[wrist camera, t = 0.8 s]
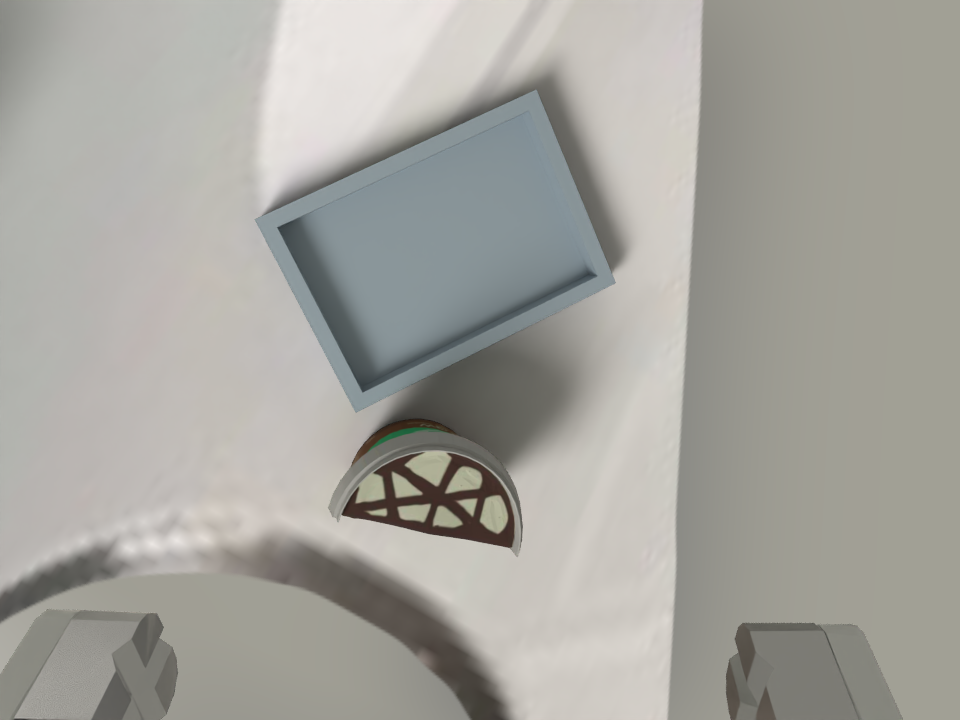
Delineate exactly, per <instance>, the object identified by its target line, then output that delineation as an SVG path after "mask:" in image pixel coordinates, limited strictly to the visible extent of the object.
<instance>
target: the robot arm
mask: <svg viewBox="0 0 960 720" xmlns="http://www.w3.org/2000/svg"><path fill="white" fill-rule="evenodd" d="M163 628H164V627H163V625H162V623H161V621H160V618H159V617H158V614H157V613H144V612H116V611H88V610H59V609H56V610H55V609H47V610H46V611H45V612H44V613H42V614H41V615H40V616H39V617H38V618H36V619H35V621H34V622H33V624H32V625H31V627H30V629H29V630H28V632H27V633H26V635H25V636H24V638H23V639H22V641H21V643H20V644H19V646H18V647H17V649H16V650H15V652H14V654H13V655H12V657H11V658H10V660H9V662H8V663H7V665H6V666H5V668H4V669H3V671H2V673H1V674H0V720H160V719H162V718H163V717H164V716H165V715H166V714H167V712H168V709H169V707H170V704H171V701H172V698H173V696H174V692H175V686H176V680H177V675H178V669H177V659H176V656H175V653H174V650H173V648H172V647H171V646H170V645H169V644H167V643H166V642H164V641H163V640H161V639H160V638H159V637H160V635H161V633H162V631H163ZM735 641H736V645H737V649H738V653H737V654H736V655H734V656H733V657H732V658H730V659H729V663H728V668H727V673H726V696H727V703H728V710H729V714H730V719H731V720H903V718H902V716H901V714H900V712H899V709H898V707H897V705H896V703H895V701H894V699H893V696H892V694H891V692H890V690H889V687H888V685H887V683H886V681H885V679H884V677H883V674H882V672H881V670H880V668H879V665H878V663H877V661H876V659H875V656H874V654H873V652H872V650H871V648H870V645H869V643H868V641H867V639H866V636H865V634H864V633H863V631H862V630H860V628H859V627H858V626H856V625H851V624H847V625H846V624H845V625H844V624H843V625H841V624H840V625H839V624H838V625H836V624H835V625H816V624H814V623H742V624H741V625H740V626H739V627H738V630H737V633H736V637H735Z"/></svg>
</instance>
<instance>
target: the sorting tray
mask: <svg viewBox="0 0 960 720" xmlns="http://www.w3.org/2000/svg"><path fill="white" fill-rule="evenodd" d="M255 221H256V223H257V225H258V227H259V229H260V230H261V232H262V234H263V236H264V238H265V240H266V242H267V244H268V246H269V248H270V250H271V251H272V253H273V255H274V257H275V259H276V261H277V263H278V265H279V267H280V269H281V271H282V272H283V274H284V276H285V278H286V280H287V282H288V284H289V286H290V288H291V290H292V292H293V294H294V295H295V297H296V299H297V301H298V303H299V305H300V307H301V309H302V311H303V313H304V315H305V316H306V318H307V320H308V322H309V324H310V326H311V328H312V330H313V332H314V334H315V336H316V338H317V339H318V341H319V343H320V345H321V347H322V349H323V351H324V353H325V355H326V357H327V359H328V360H329V362H330V364H331V366H332V368H333V370H334V372H335V374H336V376H337V378H338V380H339V381H340V383H341V385H342V387H343V389H344V391H345V393H346V395H347V397H348V399H349V401H350V403H351V404H352V406H353V408H354V410H355V412H358V411H360V410H362V409H364V408H366V407H368V406H370V405H372V404H374V403H376V402H378V401H380V400H382V399H384V398H386V397H388V396H390V395H392V394H394V393H396V392H398V391H400V390H402V389H404V388H406V387H408V386H410V385H412V384H414V383H416V382H418V381H420V380H422V379H424V378H426V377H428V376H430V375H432V374H434V373H436V372H438V371H440V370H442V369H444V368H446V367H448V366H450V365H452V364H454V363H456V362H458V361H460V360H462V359H464V358H466V357H468V356H470V355H472V354H474V353H476V352H478V351H480V350H482V349H484V348H486V347H488V346H490V345H492V344H494V343H496V342H498V341H500V340H502V339H504V338H506V337H508V336H510V335H512V334H514V333H516V332H518V331H520V330H522V329H524V328H526V327H528V326H530V325H532V324H534V323H536V322H538V321H540V320H542V319H544V318H546V317H548V316H551V315H553V314H555V313H557V312H559V311H561V310H563V309H565V308H567V307H569V306H571V305H573V304H575V303H577V302H579V301H581V300H583V299H585V298H587V297H589V296H591V295H593V294H595V293H597V292H599V291H601V290H603V289H605V288H607V287H609V286H611V285H613V284H615V283H616V282H615V280H614V277H613V275H612V273H611V270H610V268H609V265H608V263H607V260H606V258H605V255H604V253H603V251H602V248H601V246H600V243H599V241H598V238H597V236H596V234H595V231H594V229H593V226H592V224H591V221H590V219H589V216H588V214H587V212H586V209H585V207H584V204H583V202H582V199H581V197H580V194H579V192H578V190H577V187H576V185H575V182H574V180H573V177H572V175H571V172H570V170H569V168H568V165H567V163H566V160H565V158H564V155H563V153H562V150H561V148H560V146H559V143H558V141H557V138H556V136H555V133H554V131H553V128H552V126H551V124H550V121H549V119H548V116H547V114H546V111H545V109H544V106H543V104H542V102H541V99H540V97H539V94H538V92H537V89H536V90H534V91H532V92H530V93H527V94H525V95H523V96H521V97H519V98H517V99H514V100H512V101H510V102H508V103H506V104H504V105H501V106H499V107H497V108H495V109H493V110H491V111H488V112H486V113H484V114H482V115H480V116H478V117H475V118H473V119H471V120H469V121H467V122H465V123H462V124H460V125H458V126H456V127H454V128H452V129H449V130H447V131H445V132H443V133H441V134H439V135H436V136H434V137H432V138H430V139H428V140H426V141H423V142H421V143H419V144H417V145H415V146H413V147H411V148H408V149H406V150H404V151H402V152H400V153H398V154H395V155H393V156H391V157H389V158H387V159H385V160H382V161H380V162H378V163H376V164H374V165H372V166H369V167H367V168H365V169H363V170H361V171H359V172H356V173H354V174H352V175H350V176H348V177H346V178H343V179H341V180H339V181H337V182H335V183H333V184H330V185H328V186H326V187H324V188H322V189H320V190H317V191H315V192H313V193H311V194H309V195H307V196H304V197H302V198H300V199H298V200H296V201H294V202H291V203H289V204H287V205H285V206H283V207H281V208H278V209H276V210H274V211H272V212H270V213H268V214H265V215H263V216H261V217H259V218H257V219H255Z"/></svg>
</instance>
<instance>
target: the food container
mask: <svg viewBox="0 0 960 720" xmlns="http://www.w3.org/2000/svg"><path fill="white" fill-rule="evenodd" d="M328 508H329V510H330V513H331V515H332V517H335V518H337V522H339V520H340V517H341V515H343V516H347V517H351V518H359V519H365V520H371V521H375V522H380V523H385V524H390V525H394V526H398V527H403V528H407V529H411V530H414V531H419V532H423V533H427V534H432V535H439V536H446V537H453V538H460V539H466V540H472V541H477V542H482V543H487V544H493V545H498V546H503V547H508V548H510V549H511V550H512V551H513V553H514V554H515V555H516V557H518V553H519V551H520V547H521V542H522V529H523V525H522V515H521V507H520V501H519V498H518V494H517V491H516V488H515V486H514V483H513V481H512V479H511V477H510V475H509V474H508V472H507V471H506V469H505V468H504V467H503V465H502V464H501V463H500V462H499V461H498V460H497V459H496V458H495V457H494V456H493V455H492V454H491V453H490V452H489V451H487V450H486V449H484V448H483V447H482V446H480V445H479V444H477V443H475V442H473V441H471V440H469V439H467V438H464V437H460V436H458V435H457V434H456V433H455V432H454V431H452V430H450V429H449V428H447V427H445V426H443V425H442V424H440V423H437V422H434V421H430V420H424V419H408V420H402V421H398V422H395V423H392V424H390V425H388V426H386V427H384V428H382V429H380V430H379V431H377V432H376V433H375V434H373V435H372V436H371V437H370V438H369V439H368V440H367V441H366V442H365V443H364V444H363V446H362V447H361V448H360V450H359V451H358V452H357V454H356V456H355V458H354V460H353V462H352V465H351V467H350V469H349V470H348V471H347V473H346V474H345V475H344V477H343V478H342V479H341V480H340V482H339V484H338V486H337V488H336V490H335V492H334V493H333V496H332V499H331V501H330V504H329V507H328Z"/></svg>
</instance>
